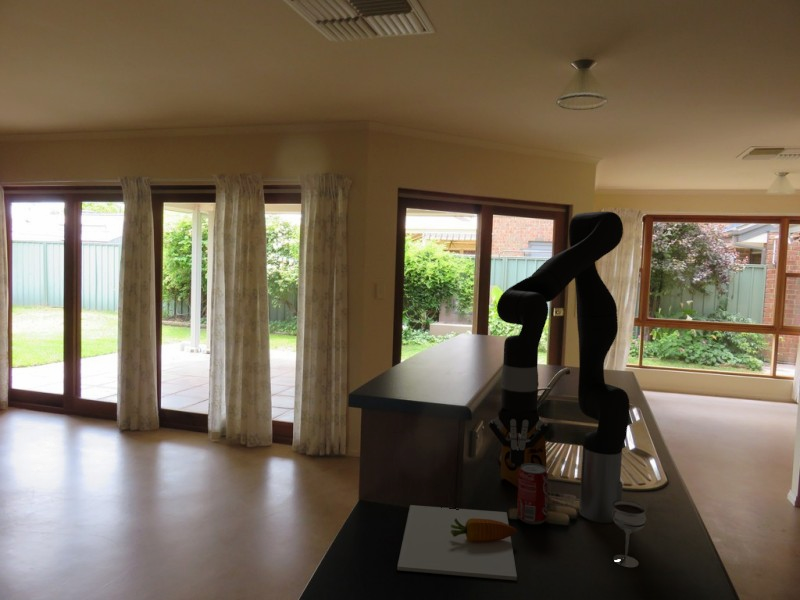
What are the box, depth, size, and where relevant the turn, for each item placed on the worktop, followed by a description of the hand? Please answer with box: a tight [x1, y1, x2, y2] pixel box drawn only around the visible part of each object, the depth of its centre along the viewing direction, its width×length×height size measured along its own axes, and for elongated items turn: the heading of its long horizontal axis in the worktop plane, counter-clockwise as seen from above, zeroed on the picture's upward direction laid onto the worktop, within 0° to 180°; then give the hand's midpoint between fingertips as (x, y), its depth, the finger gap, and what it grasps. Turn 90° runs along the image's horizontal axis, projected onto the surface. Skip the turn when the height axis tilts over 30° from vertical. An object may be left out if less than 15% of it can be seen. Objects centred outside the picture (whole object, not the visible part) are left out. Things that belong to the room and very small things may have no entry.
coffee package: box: [500, 423, 548, 488], centre depth 160 cm, size 10×12×22 cm
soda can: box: [516, 463, 549, 526], centre depth 139 cm, size 7×7×13 cm
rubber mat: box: [396, 504, 518, 581], centre depth 129 cm, size 24×28×1 cm
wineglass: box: [612, 499, 647, 568], centre depth 122 cm, size 7×7×12 cm
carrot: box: [451, 518, 517, 542], centre depth 127 cm, size 5×5×15 cm
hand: (516, 465), depth 122 cm, fingers closed
